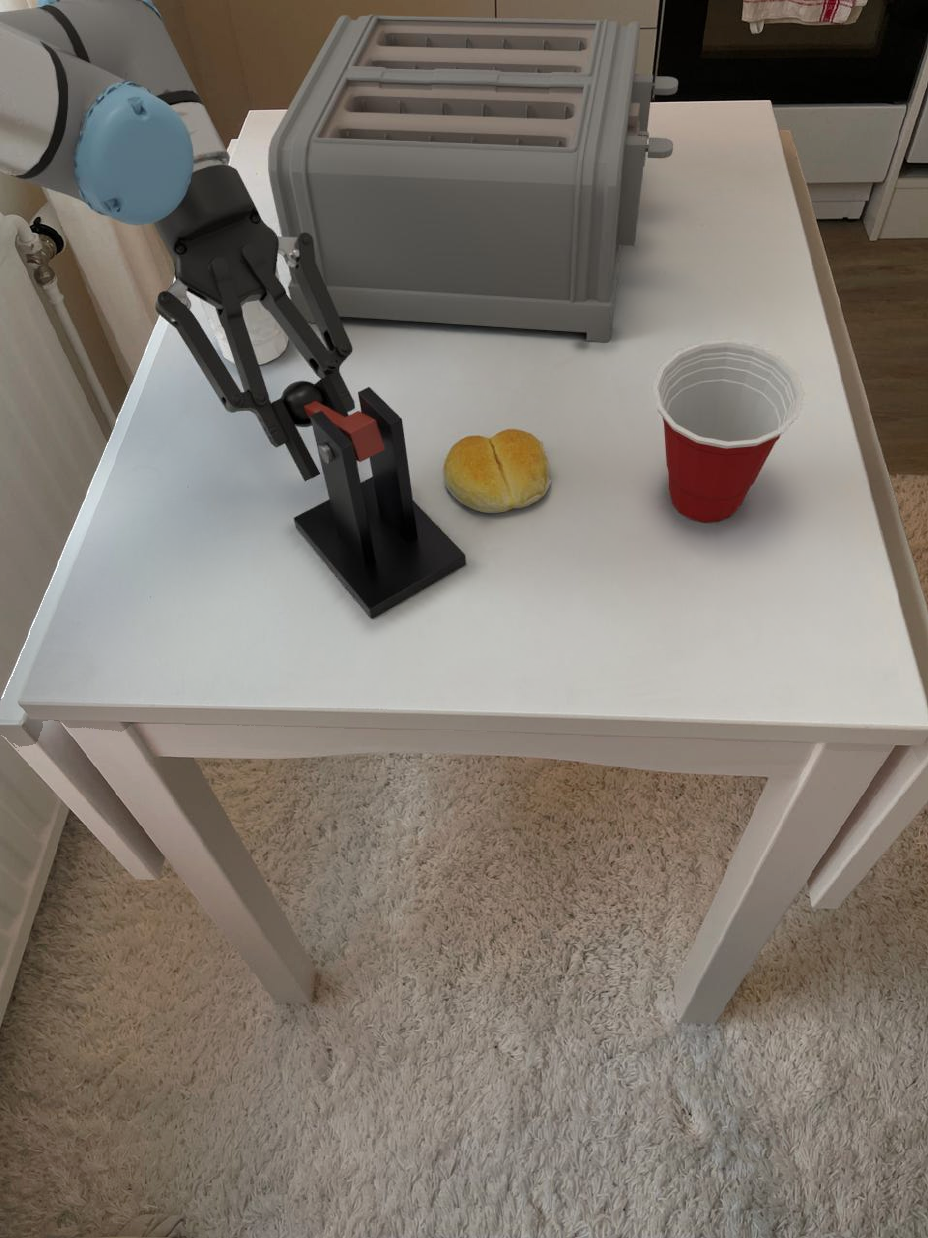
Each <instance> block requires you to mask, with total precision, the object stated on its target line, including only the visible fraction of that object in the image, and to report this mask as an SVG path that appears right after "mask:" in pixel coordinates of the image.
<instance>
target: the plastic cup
mask: <svg viewBox="0 0 928 1238" xmlns="http://www.w3.org/2000/svg"><path fill="white" fill-rule="evenodd" d="M652 390H653V396H654V400H655V404H656V405H655V406H656V409H657V412H658V414H659V415H660V416H661V417H662V422H663V429H664V430H663V431H664V445H665V460H666V461H665V462H666V468H667V474H668V475H667V476H668V478H667V479H668V491H669V492H668V493H669V496H670V500H671V503H672V505H673V507H674V508H675V509H676V510H677V511H678V513H679V514H680V515H683V516H684V517H686V518H687V519H689V520H691V521H697V522H701V523H719V522H721V521H724V520H726V519H729V518H731V516H732V515H734V513H735V512H736V511H737V510H738V509H739V507H740V506H741V505H742V504H743V502H744V500H745V498H746V496H747V494H748V492H749V491H750V489H751V487H752V486H753V485H754V484H755V482H756V480H757V478H758V476H759V474H760V472H761V470H762V469H763V468H764V465H765V463H766V461H767V459H768V457H769V456H770V454H771V452H772V450H773V448H774V446H775V444H776V442H778V440H779V439H780V437H781V436H782V434H784V432H785V431H786V430H787V429H788V428H789V427H790V426H791V425H792V424H793V423H794V422H795V421H796V420H797V419H798V418H799V416H800V415H801V411H802V405H803V402H804V400H805V399H804V398H805V394H806V393H805V390H804V387H803V384H802V381H801V378H800V375H799V372H797V370H796V369H795V368H793V367H792V366H791V364H790V363H789V362H788V361H787V360H785V358H784V357H783V356H782V355H781V354H778V353H776V352H774V351H772V350H769V349H767V348H766V347H764V346H761V345H759V344H758V343H751V342H745V341H739V340H733V339H721V340H719V339H717V340H711V341H710V340H709V341H700V342H697V343H695V344H693V345H690V346H688V347H685V348H683V349H681V350H678V351H676V352H675V353H674V354H672V356H671V357H669V359H667V360H666V361H665V362H664V363H663V364H662V365H661V366H660V367H659V369H658V372H657V374H656V377H655V380H654V383H653V385H652Z"/></svg>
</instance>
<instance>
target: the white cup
mask: <svg viewBox="0 0 928 1238" xmlns="http://www.w3.org/2000/svg"><path fill="white" fill-rule="evenodd" d="M275 276H276V277H277V278H278V280H279V281H280V280H281V279H280V275H279V269H278V265H276V273H275ZM280 282H281V281H280ZM199 300H200V304H201V306H202V308H203V310H204V313H205V316H206V318H207V319H206V320H207V321H208V323H209V326H210V328H211V331H212V333H213V334H214V336H215V339H216V341H217V345H218V347H219V349H220V352H221V353H222V356H223V358H224V359H225V360H227V361H229V362H230V363H232V364H234V365H235V362H234V359H233V356H232V353H231V349H230V346H229V343H228V340H227V337H226V334H225V331H224V329H223V327H222V326H221V323H220V320H219V317H218V314H217V311H216V308H215V307H214V306H212V305H211V304H209V303H207V302H205V301H204V300H202V299H200V298H199ZM241 307H242V311H243V318H244V321H245V324H246V327H247V330H248V333H249V336H250V340H251V343H252V346H253V349H254V352H255V355H256V358H257V361H258V364H259V366H260V365H265V364H267V363H269V362H271V361H273V360H275V359H277V358H279V357H280V356H281V355H282V354H283V353H284V352H285V351H286V350H287V348H288V344H289V340H290V339H289V337H288V336H287V335H286V333H285V332H284V331H283V329H282V328H281V327H280V325H279V324H278V323H277V321H276V320H275V319H274V317H273V316H272V315H271V313H270V312H269V311H268V310H266V309H265V308H264V307H263V306H262V304H261V303H260V302H259V300H257V301H251V302H246V303H245V304H244V305H242V306H241Z"/></svg>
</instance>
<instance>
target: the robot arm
mask: <svg viewBox="0 0 928 1238" xmlns="http://www.w3.org/2000/svg"><path fill="white" fill-rule="evenodd" d="M36 2H37V7H33V8H25V9H24V8H23V9H15V10H14V9H13V10H7V11H0V172H1V173H4V174H6V175H9V176H12V177H14V178H16V179H18V180H22V181H24V182H27V183H29V184H32V185H36V186H40V187H42V188H45V189H48V190H51V191H54V192H57V193H60V194H62V195H66V196H69V197H71V198H73V199H76V200H78V201H81V202H83V203H85V204H86V205H87V206H88V207H89V209H90V210H92V211H93V212H95V213H97V214H99V215H101V216H106V217H109V218H112V219H113V220H116V221H118V222H119V223H123V224H127V225H132V226H145V225H150V224H153V226H154V228H155V230H156V231H157V234H158V235H159V237H160V239H161V241H162V243H163V245H164V247H165V249H166V250H167V253H168V254H169V256H170V258H171V260H172V262H173V266H174V278H175V280H174V281H173V282H172V284H171V285H170V286H169V287H168V288H167V289H166V290H163V291H161V292H159V294H158V295H157V298H156V300H155V301H156V302H155V307H154V308H155V311H156V313H157V314H158V315H159V316H160V317H162V318H163V319H164V320H165V321H166V322H167V323H168V324H170V325H171V326H172V327H173V328H174V329H176V331H177V332H178V334H179V336H180V337H181V339H182V340H183V343H184V344H185V345H186V347H187V349H188V350H189V352H190V353H191V356H192V357H193V358H194V360H195V362H196V363H197V365H198V366H199V368H200V370H201V372H202V373H203V375H204V376H205V378H206V379H207V382H208V383H209V384H210V386H211V388H212V389H213V391H214V393H215V394H216V396H217V397H218V400H220V402H221V404H222V405H223V407H224V409H225V410H226V411H227V412H229V413H231V414H233V413H234V414H235V413H237V412H245V411H247V412H251V413H253V414H254V415H255V416H256V418H257V420H258V422H259V425H260V426H261V428H262V430H263V431H264V434H265V435H266V437H267V439H268V441H269V443H270V444H271V445H272V446H273V447H275V448H276V449H277V448H280V447H281V446H283V445H285V447H286V449H287V451H288V453H289V454H290V456H291V458H292V460H293V463H294V464H295V466H296V468H297V470H298V471H299V473H300V475H301V477H302V479H303V481H304V482H308V481H310V480H312V479H314V478H316V477H318V476H320V475H321V472H320V470H319V468H318V466H317V464H316V462H315V460H314V458H313V457H312V455H311V453H310V451H309V449H308V447H307V445H306V443H305V441H304V439H303V437H302V436H301V434H300V432H299V429H298V428H297V426H295V424H294V422H293V420H292V419H291V417H290V415H289V413H288V411H287V409H286V407H285V405H284V403H283V401H282V400H281V397H280V398H278V399H276V400H274V401H272V402H271V401H270V395H269V391H268V389H267V386H266V383H265V380H264V378H263V377H264V376H263V374H262V371H261V368H260V365H259V364H258V361H257V358H256V355H255V352H254V349H253V346H252V343H251V340H250V336H249V333H248V330H247V327H246V324H245V321H244V318H243V311H242V307H241V306H242V305H244V304H245V303H246V302H251V301H257V300H259V302H260V303H261V304H262V306H263V307H264V308H265V309H266V310H268V311H269V312H270V313H271V315H272V316H273V317H274V319H275V320H276V321H277V323H278V324H279V325H280V327H281V328H282V329H283V331H284V332H285V333H286V335H287V336H288V337H289V340H290V341H291V343H292V345H294V347H295V349H297V351H298V353H299V354H300V355H301V356H302V357H303V359H304V360H305V362H306V363H307V365H308V366H309V367H310V368H311V369H312V371H313V372H314V373H315V375H316V376H317V377H318V378H319V380H318V381H316V382H315V383H314V384H315V385H316V386H317V387H319V388H320V390H321V391H322V392H323V394H324V396H325V399H326V407H328V408H329V409H331V410H333V411H335V412H337V413H338V414H340V415H342V416H344V417H347V416H349V415H350V414H349V412H352V411H353V410H355V409H356V405H355V400H354V398H353V396H352V395H351V394H352V393H351V392H350V390H349V388H348V386H347V384H346V382H345V380H344V379H343V377H342V374H341V372H340V369H341V368H340V367H341V366H342V364H343V363H344V362H345V361H346V360H347V359H348V357H350V356H351V354H352V353H353V350H354V349H353V344H352V343H351V340H350V338H349V336H348V334H347V331H346V329H345V327H344V325H343V322H342V320H341V316H339V315H338V313H337V310H336V308H335V306H334V304H333V301H332V299H331V297H330V295H329V292H328V290H327V288H326V285H325V283H324V281H323V279H322V276H321V274H320V272H319V269H318V267H317V265H316V263H315V253H314V242H313V238H312V236H311V235H310V234H309V233H306V232H304V233H301V234H300V235H299V237H282V236H278V235H277V233H276V232H275V231H274V230H273V229H272V228H271V227H270V226H268V225H267V224H266V223H265V221H264V220H263V219H262V217H261V214H260V213H259V210H258V208H257V206H256V205H255V202H254V201H253V200H254V199H253V198H252V196H251V195H250V193H249V191H248V188H247V187H246V184H245V183H244V181H243V179H242V177H241V175H240V173H239V170H238V169H237V168H235V167H233V166H232V165H229V164H230V162H231V161H230V159H231V156H230V154H229V152H228V150H227V148H226V146H225V144H224V142H223V140H222V138H221V136H220V135H219V132H218V131H217V129H216V127H215V124H214V122H213V121H212V119H211V117H210V115H209V113H208V111H207V109H206V107H205V105H204V103H203V102H202V100H201V98H200V95H199V93H198V91H197V89H196V86H195V85H194V83H193V81H192V79H191V77H190V75H189V73H188V71H187V69H186V66H185V65H184V63H183V61H182V58H181V57H180V55H179V53H178V51H177V48H176V46H175V44H174V42H173V41H172V38H171V36H170V34H169V33H168V32H169V31H167V28H166V26H165V22H164V19H163V18H162V15H161V13H160V12H159V10H158V9H157V8H156V6H155V5H154V3H153V1H152V0H37V1H36ZM279 255H280V256H282V257H283V259H284V261H285V263H286V265H287V266H288V267H289V266H290V267H294V272H295V276H296V279H297V281H298V284H299V286H300V288H301V291H302V293H303V295H304V297H305V300H306V302H307V304H308V306H309V309H310V311H311V313H312V315H313V318H314V320H315V324H316V327H317V329H318V331H319V334H320V336H321V338H322V340H323V341H322V340H321V339H320V338H319V336H318V335H317V333H316V332H315V331H314V330H313V328H312V327H311V325H310V324H309V322H307V321H306V320H305V319H304V317H303V316H302V314H301V313H300V312H299V310H298V309H297V308H296V306H295V305H294V304H293V302H292V301H291V298H290V296H289V295H288V293H287V290H286V288H285V286H284V285H283V284H282V282H281V281H279V280H280V279H279V280H278V278H277V277H276V276H275V273H276V265H277V263H278V256H279ZM277 266H278V265H277ZM187 292H188V293H190V294H191V295H193V296H195V297H197V298H198V299H199V300H200V299H202V300H204V301H205V302H207V303H209V304H211V305H212V306H214V307H215V308H216V311H217V314H218V317H219V320H220V323H221V326H222V327H223V329H224V331H225V334H226V337H227V340H228V343H229V346H230V349H231V353H232V356H233V359H234V362H235V364H234V365H235V367H236V371H237V374H238V376H239V380H240V383H241V385H242V388H243V389H242V390H243V391H241V389H240V388H239V386H238V385H237V383H236V381H235V379H234V378H233V376H232V374H231V373H230V371H229V370H228V369H227V367H226V365H225V363H224V361H223V360H222V358H221V357H220V355H219V353H218V352H217V350H216V349H215V347H214V345H213V343H212V342H211V340H210V339H209V337H208V335H207V333H206V331H205V330H204V328H203V327H202V325H201V324H200V322H199V320H198V318H197V317H196V316H195V314H194V313H193V312H192V310H191V308H192V302H191V301H192V300H191V299H190V298H189V296H188V295H187Z"/></svg>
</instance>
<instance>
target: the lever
mask: <svg viewBox="0 0 928 1238" xmlns="http://www.w3.org/2000/svg"><path fill="white" fill-rule="evenodd" d="M280 398H281V400H282V401H283V403H284V405H285V407H286V409H287V411H288V413H289V415H290V417H291V419H292V420H293V422H294V424H295V426H296V427H299V428H309V427H312V423H311V419H310V416H311V415H313V414H315V413H317V412H319V411H322V412H323V413H324V414H325V415H326V416H327V417H328V418H329V419H330V420H331V421H332V422H333V423H334V424H335V425H336V426H337V427H338V428H339V429H340V430H341V432H342V433H343V434H344V435H345V436H346V437H347V438H348V439H349V440H350V441H351V442H352V443H353V445H354V450H355V456H356V461H357V462H358V463H362V462H364V461H366V460H367V459H370V457H371V456H373V455H375V454H377V453H379V452H381V451H383V450H385V447H384V444H383V441H382V438H381V435H380V432H379V429H378V426H377V423H376V420H375V419H373V418H371V417H369V416H367V415H365V414H363V413H362V412H361V410H357V411H355V412H353V413H351V414H348V415H349V416H347V417H344V416H342V415H340V414H338V413H337V412H335V411H333V410H331V409H329V408H328V407H326V399H325V396H324V394H323V392H322V391H321V390H320V388H319V387H317V386H316V385H315V383H313V382H310V381H307V380H297V381H294V382H292V383H290V384H289V385H288V386H286V388H285V389H284V390H283V392H282V394H281V397H280Z"/></svg>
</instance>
